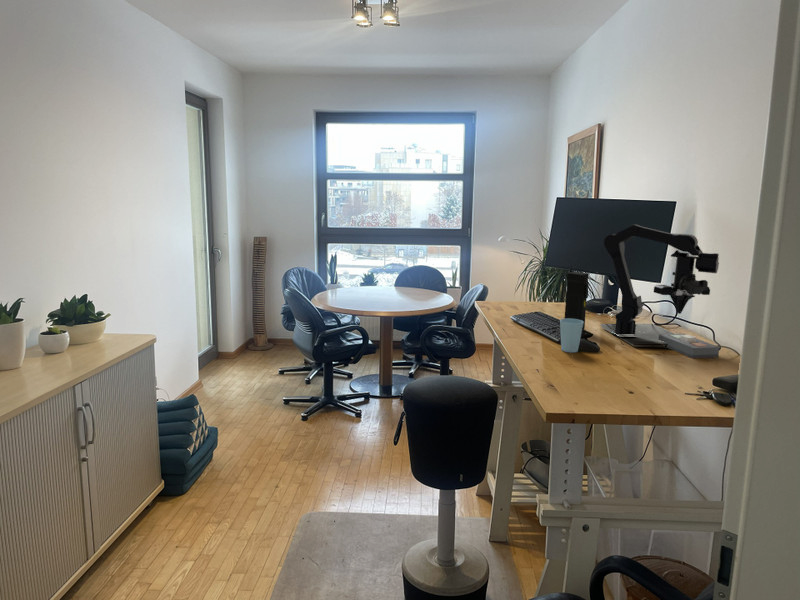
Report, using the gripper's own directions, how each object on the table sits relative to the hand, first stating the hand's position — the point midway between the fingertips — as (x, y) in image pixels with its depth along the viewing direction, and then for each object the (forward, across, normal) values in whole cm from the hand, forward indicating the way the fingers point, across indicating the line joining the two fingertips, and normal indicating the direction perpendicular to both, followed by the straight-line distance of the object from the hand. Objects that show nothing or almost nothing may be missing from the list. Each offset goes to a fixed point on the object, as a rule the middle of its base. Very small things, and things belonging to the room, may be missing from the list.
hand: (678, 313), depth 207 cm
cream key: (+9, -1, -8) cm, 12 cm away
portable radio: (+12, -27, +24) cm, 38 cm away
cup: (+12, -43, -4) cm, 45 cm away
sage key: (+10, -1, -2) cm, 11 cm away
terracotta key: (+10, -1, -13) cm, 17 cm away
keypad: (+11, -1, -8) cm, 14 cm away
